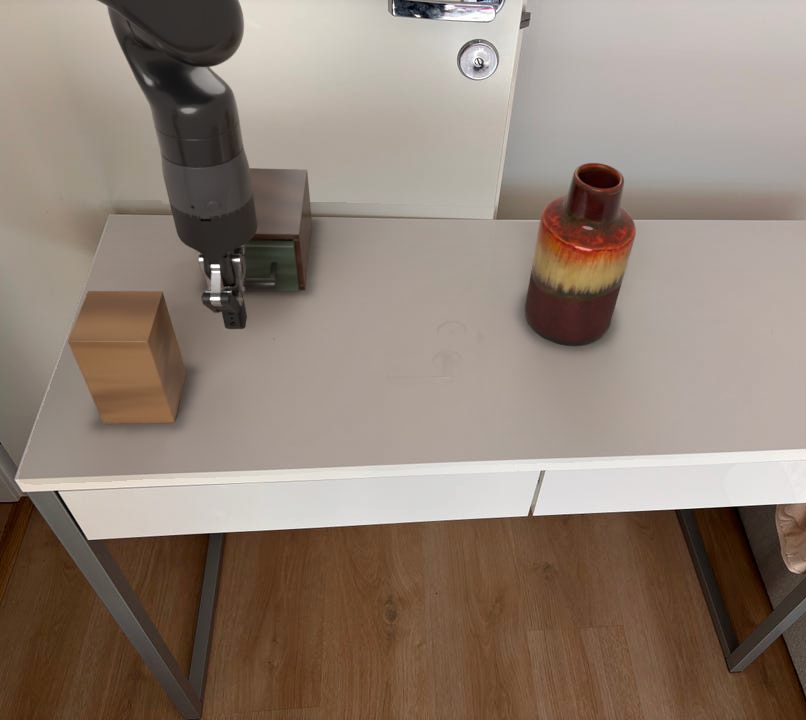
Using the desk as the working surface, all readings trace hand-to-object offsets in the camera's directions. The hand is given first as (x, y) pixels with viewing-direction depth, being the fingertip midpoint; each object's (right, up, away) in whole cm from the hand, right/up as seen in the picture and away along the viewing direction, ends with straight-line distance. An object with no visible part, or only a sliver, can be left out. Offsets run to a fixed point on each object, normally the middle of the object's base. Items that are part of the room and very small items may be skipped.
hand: (236, 324), depth 83 cm
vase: (+38, +1, +12) cm, 40 cm away
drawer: (-1, +7, +12) cm, 14 cm away
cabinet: (-1, +10, +15) cm, 18 cm away
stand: (-9, -8, -2) cm, 12 cm away
